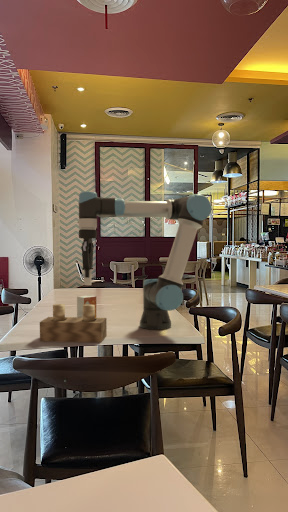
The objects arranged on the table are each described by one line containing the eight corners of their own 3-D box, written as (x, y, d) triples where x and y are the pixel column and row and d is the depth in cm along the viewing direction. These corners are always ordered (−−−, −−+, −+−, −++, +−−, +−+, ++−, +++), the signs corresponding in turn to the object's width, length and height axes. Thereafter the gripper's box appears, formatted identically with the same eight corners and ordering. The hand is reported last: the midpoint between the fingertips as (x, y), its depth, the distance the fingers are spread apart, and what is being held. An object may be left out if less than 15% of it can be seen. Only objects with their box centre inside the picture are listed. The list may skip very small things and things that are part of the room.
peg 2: (95, 322, 173) (95, 304, 173) (93, 325, 168) (93, 306, 168) (84, 322, 174) (84, 304, 174) (81, 325, 169) (81, 306, 169)
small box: (84, 323, 203) (83, 297, 202) (76, 321, 207) (76, 296, 207) (96, 321, 208) (96, 296, 208) (89, 319, 213) (89, 294, 212)
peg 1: (66, 322, 175) (66, 304, 174) (63, 324, 170) (62, 306, 169) (55, 322, 175) (54, 304, 175) (51, 324, 170) (51, 305, 170)
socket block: (106, 336, 176) (106, 317, 176) (101, 342, 165) (101, 323, 165) (48, 334, 179) (48, 316, 178) (39, 341, 168) (39, 322, 168)
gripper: (82, 229, 176) (82, 283, 177) (74, 228, 163) (75, 286, 164) (99, 229, 176) (99, 283, 176) (93, 228, 163) (93, 287, 164)
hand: (87, 285), depth 170 cm, fingers closed
